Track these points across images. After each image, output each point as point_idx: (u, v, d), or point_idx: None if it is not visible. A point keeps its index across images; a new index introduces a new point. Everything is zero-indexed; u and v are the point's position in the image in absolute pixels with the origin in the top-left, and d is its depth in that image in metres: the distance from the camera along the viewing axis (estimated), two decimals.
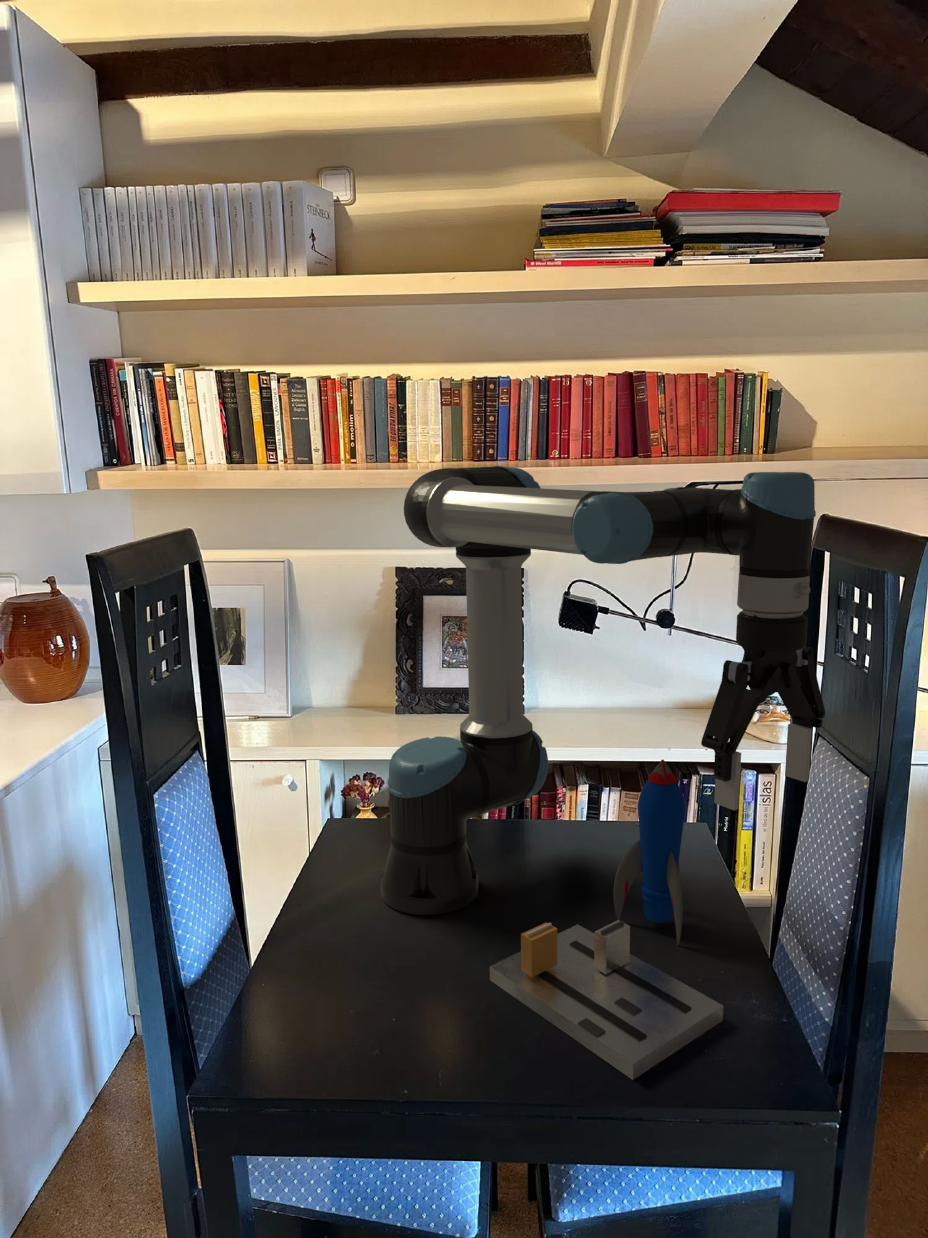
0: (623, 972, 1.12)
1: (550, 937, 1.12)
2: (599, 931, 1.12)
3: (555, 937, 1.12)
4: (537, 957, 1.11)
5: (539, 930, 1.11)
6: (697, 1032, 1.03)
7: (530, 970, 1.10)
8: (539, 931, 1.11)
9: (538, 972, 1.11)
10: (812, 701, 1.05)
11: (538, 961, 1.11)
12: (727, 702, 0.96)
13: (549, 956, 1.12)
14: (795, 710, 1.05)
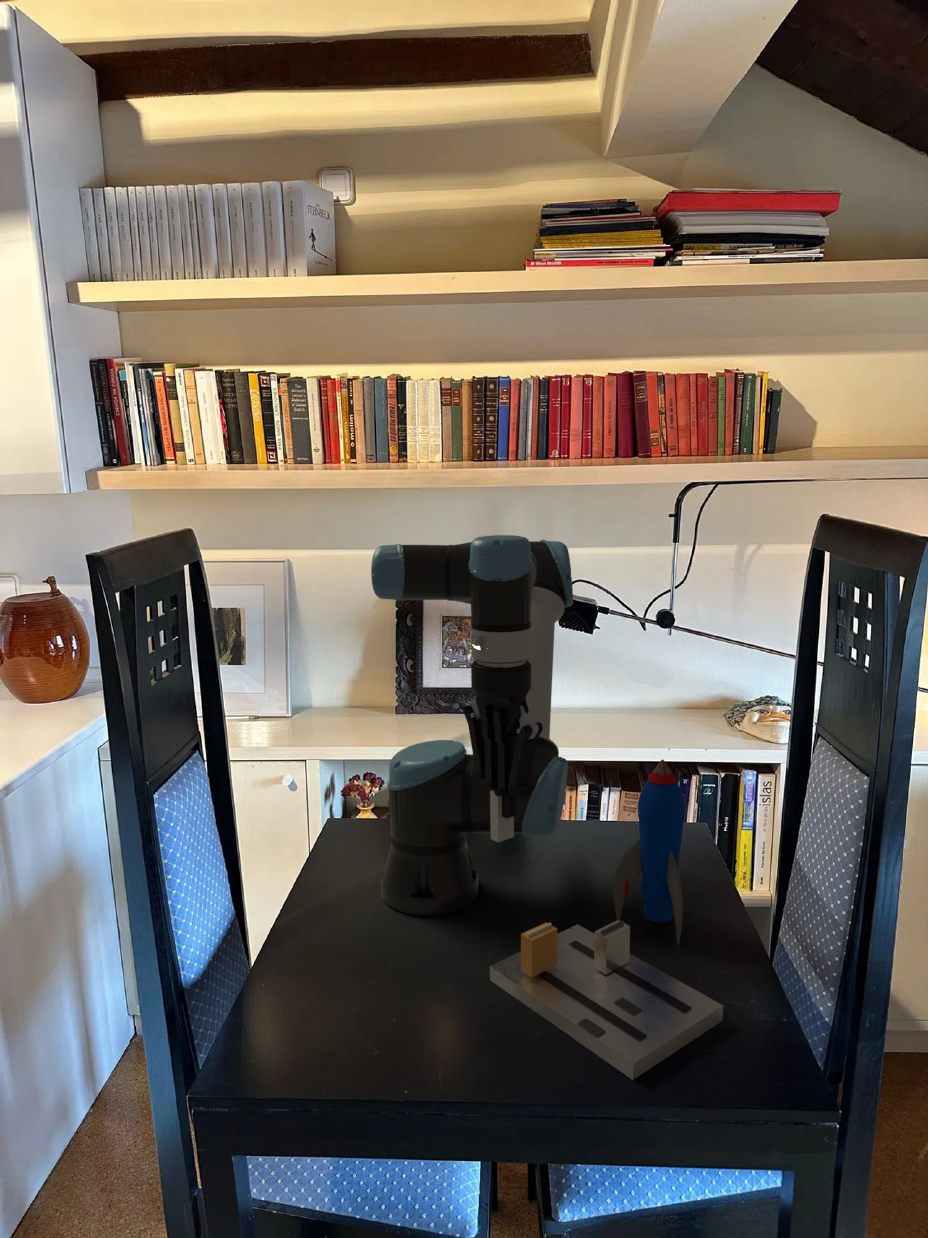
0: (623, 972, 1.12)
1: (550, 937, 1.12)
2: (599, 931, 1.12)
3: (555, 937, 1.12)
4: (537, 957, 1.11)
5: (539, 930, 1.11)
6: (697, 1032, 1.03)
7: (530, 970, 1.10)
8: (539, 931, 1.11)
9: (538, 972, 1.11)
10: None
11: (538, 961, 1.11)
12: None
13: (549, 956, 1.12)
14: None
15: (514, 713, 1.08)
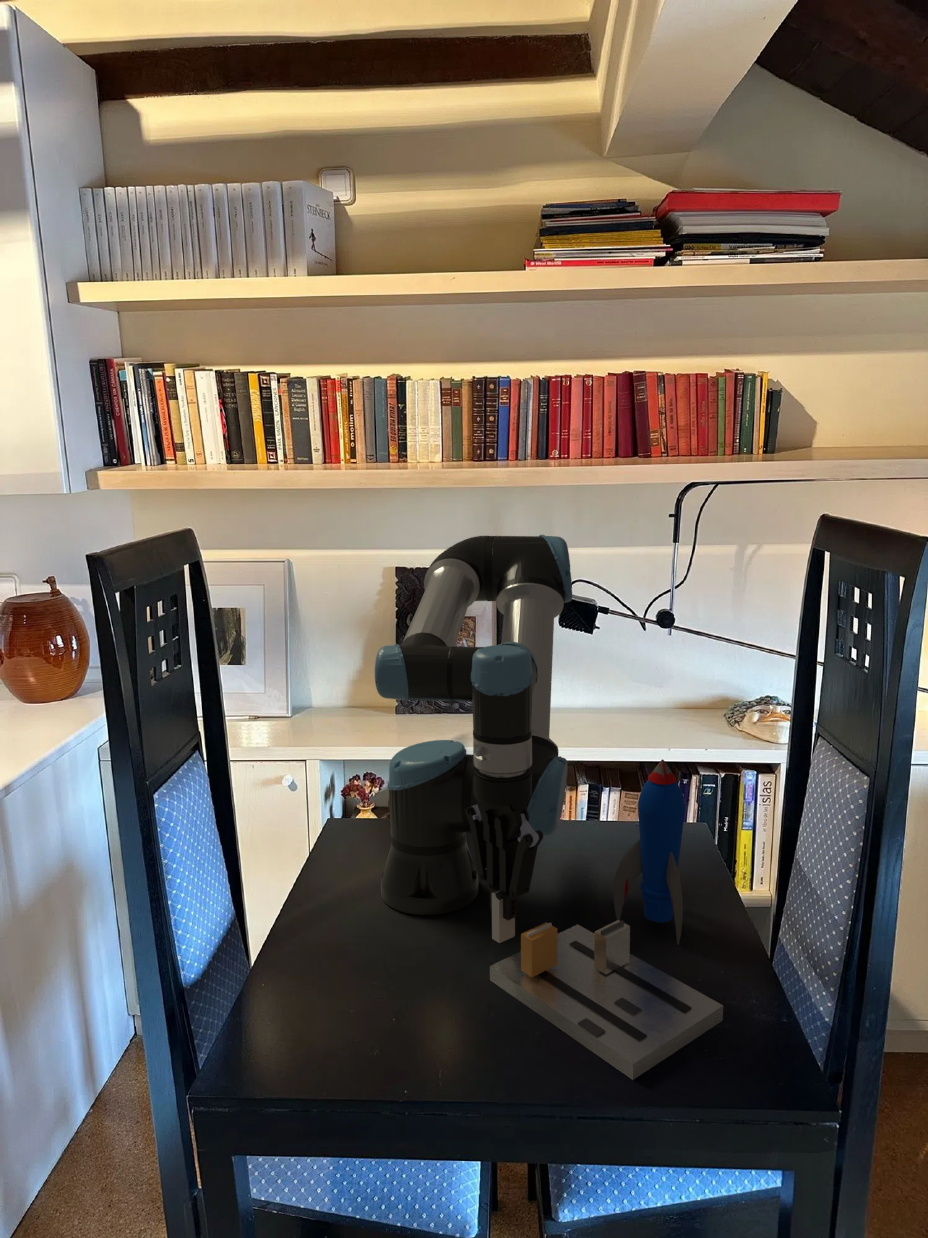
0: (623, 972, 1.12)
1: (550, 937, 1.12)
2: (599, 931, 1.12)
3: (555, 937, 1.12)
4: (537, 957, 1.11)
5: (539, 930, 1.11)
6: (697, 1032, 1.03)
7: (530, 970, 1.10)
8: (539, 931, 1.11)
9: (538, 972, 1.11)
10: None
11: (538, 961, 1.11)
12: None
13: (549, 956, 1.12)
14: None
15: (515, 822, 1.11)
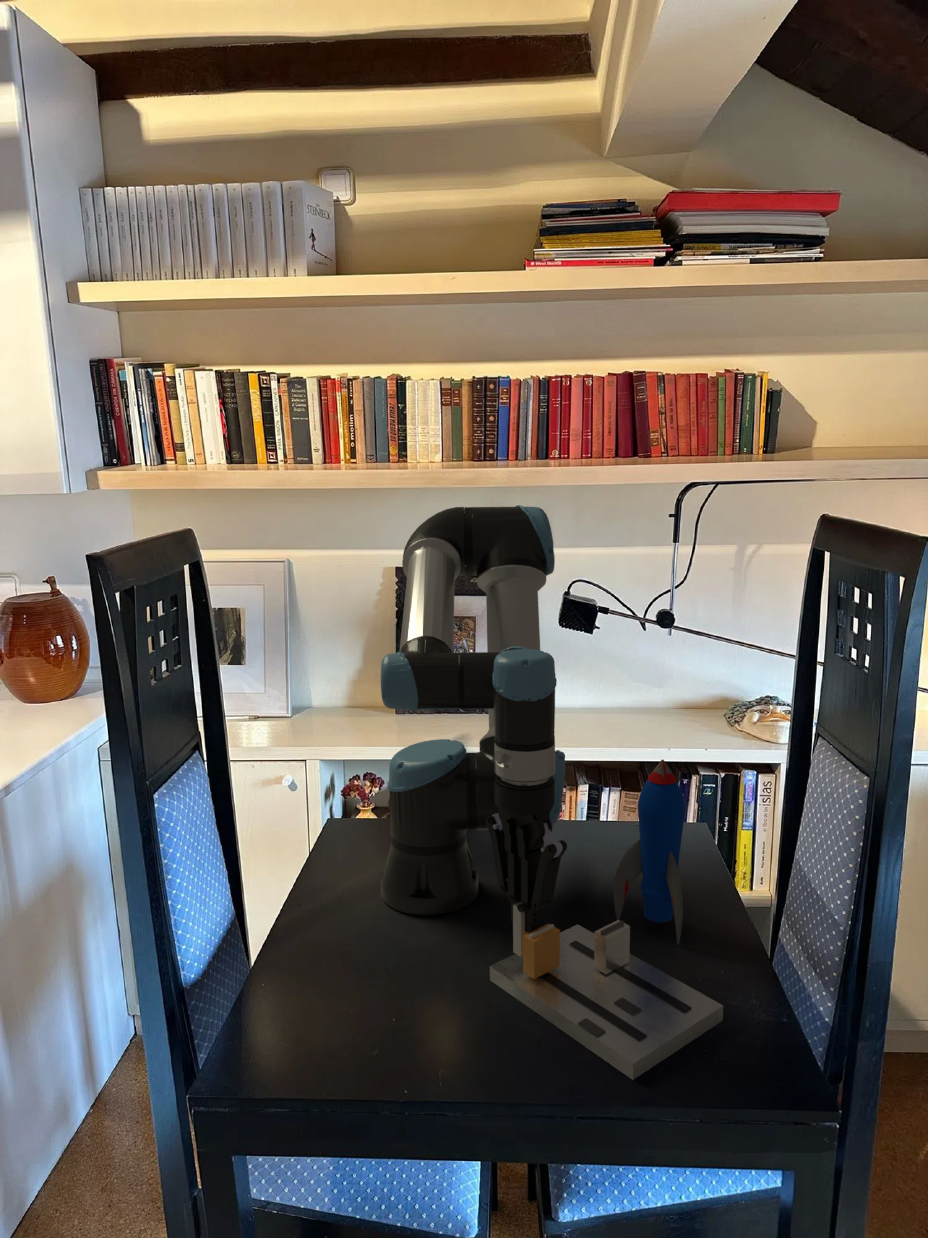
0: (623, 972, 1.12)
1: (552, 938, 1.11)
2: (599, 931, 1.12)
3: (557, 938, 1.12)
4: (540, 958, 1.10)
5: (541, 931, 1.11)
6: (697, 1032, 1.03)
7: (532, 971, 1.10)
8: (541, 932, 1.11)
9: (540, 973, 1.11)
10: None
11: (541, 962, 1.10)
12: None
13: (551, 957, 1.12)
14: None
15: (538, 831, 1.07)
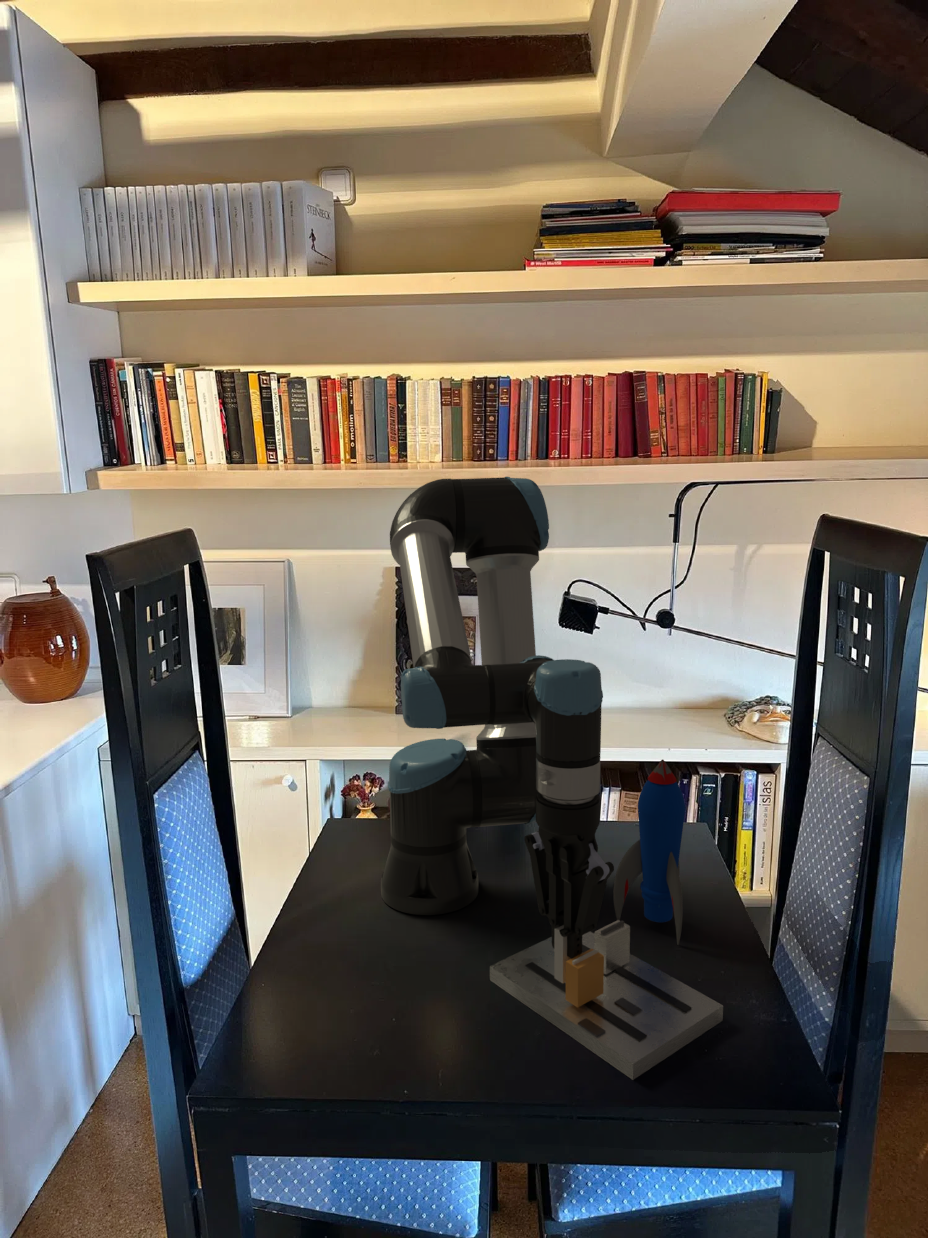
0: (623, 972, 1.12)
1: (596, 964, 1.05)
2: (599, 931, 1.12)
3: (601, 964, 1.06)
4: (583, 986, 1.04)
5: (585, 957, 1.05)
6: (697, 1032, 1.03)
7: (576, 1000, 1.04)
8: (585, 958, 1.05)
9: (584, 1002, 1.05)
10: None
11: (584, 990, 1.05)
12: None
13: (595, 984, 1.06)
14: None
15: (583, 852, 1.02)
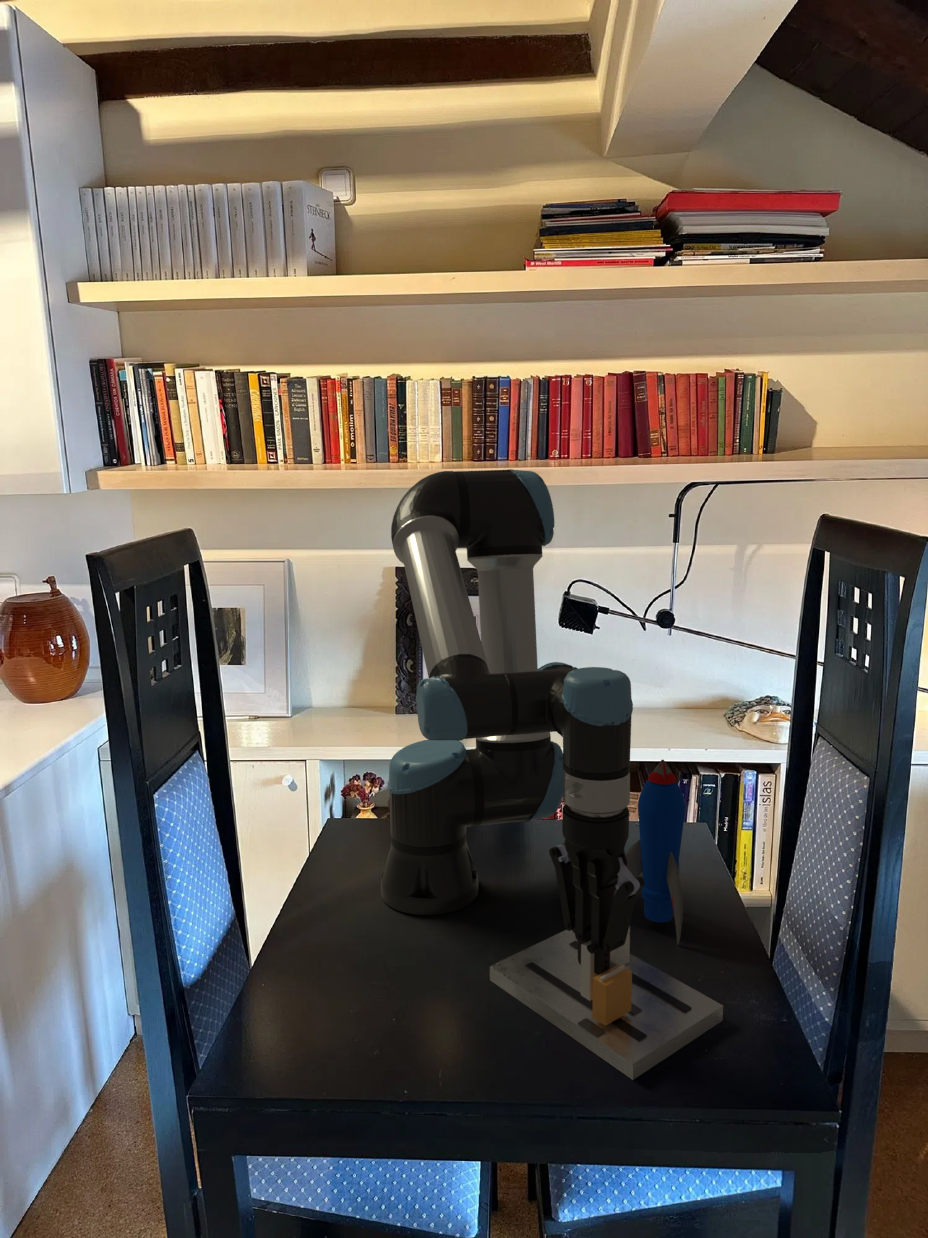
0: None
1: (624, 981, 1.02)
2: None
3: (629, 981, 1.03)
4: (611, 1003, 1.01)
5: (612, 974, 1.02)
6: (697, 1032, 1.03)
7: (603, 1018, 1.01)
8: (612, 975, 1.02)
9: (612, 1020, 1.02)
10: None
11: (612, 1007, 1.01)
12: None
13: (623, 1002, 1.02)
14: None
15: (612, 867, 0.98)
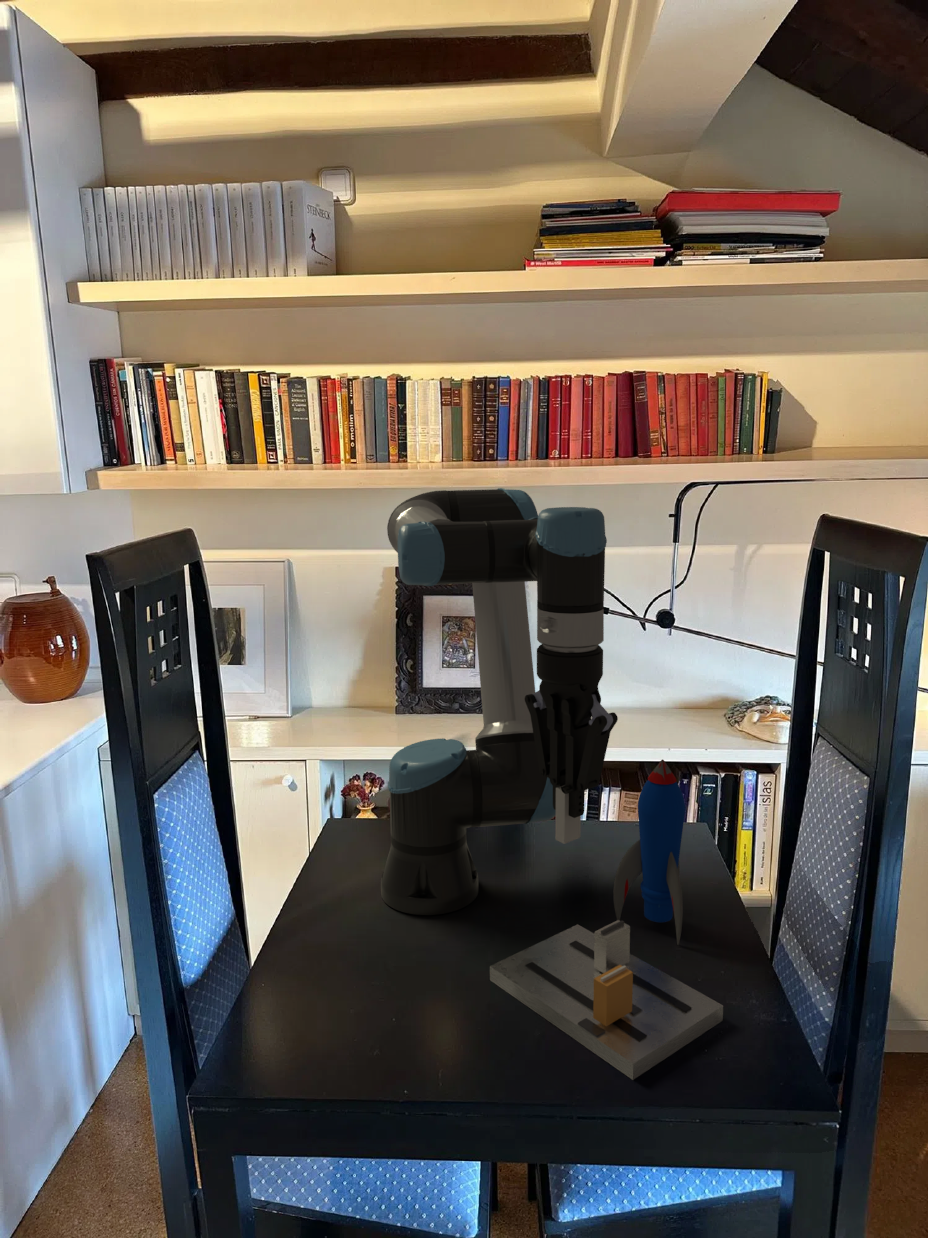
0: None
1: (625, 982, 1.02)
2: (599, 931, 1.12)
3: (630, 981, 1.03)
4: (612, 1004, 1.01)
5: (613, 974, 1.02)
6: (697, 1032, 1.03)
7: (604, 1018, 1.01)
8: (613, 975, 1.02)
9: (613, 1020, 1.01)
10: None
11: (613, 1008, 1.01)
12: None
13: (624, 1002, 1.02)
14: None
15: (586, 703, 0.98)
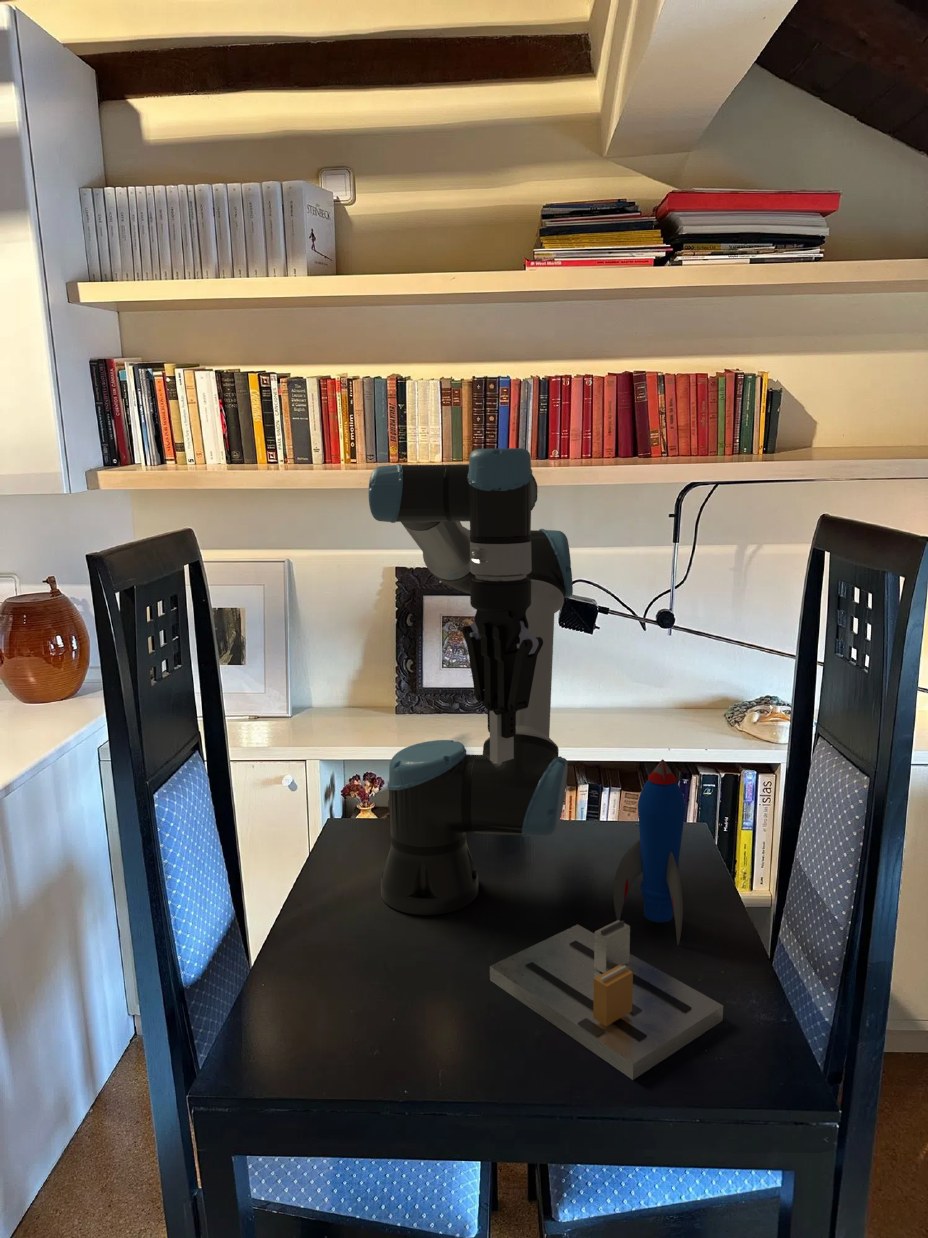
0: None
1: (625, 982, 1.02)
2: (599, 931, 1.12)
3: (630, 981, 1.03)
4: (612, 1004, 1.01)
5: (613, 974, 1.02)
6: (697, 1032, 1.03)
7: (604, 1018, 1.01)
8: (613, 975, 1.02)
9: (613, 1020, 1.01)
10: None
11: (613, 1008, 1.01)
12: None
13: (624, 1002, 1.02)
14: None
15: (514, 628, 1.06)
